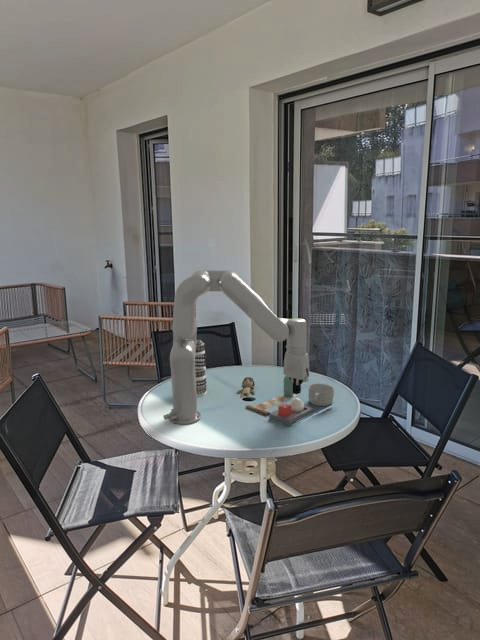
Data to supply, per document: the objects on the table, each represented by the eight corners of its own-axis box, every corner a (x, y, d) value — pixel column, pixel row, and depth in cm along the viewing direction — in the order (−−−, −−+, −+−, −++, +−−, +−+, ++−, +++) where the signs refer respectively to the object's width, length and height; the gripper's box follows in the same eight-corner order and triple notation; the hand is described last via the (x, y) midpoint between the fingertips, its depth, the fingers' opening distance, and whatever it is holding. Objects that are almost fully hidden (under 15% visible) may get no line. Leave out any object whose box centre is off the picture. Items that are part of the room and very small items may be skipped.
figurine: (235, 392, 211) (240, 374, 225) (236, 404, 214) (241, 386, 228) (253, 392, 210) (257, 375, 224) (253, 405, 213) (257, 387, 226)
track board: (267, 415, 195) (267, 413, 194) (245, 408, 203) (245, 405, 203) (304, 398, 212) (304, 396, 212) (283, 392, 220) (283, 390, 220)
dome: (297, 414, 191) (297, 402, 190) (286, 410, 195) (286, 398, 194) (306, 410, 195) (306, 397, 194) (295, 406, 199) (295, 394, 198)
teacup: (315, 398, 213) (315, 381, 211) (338, 403, 206) (338, 385, 205) (300, 408, 201) (300, 390, 200) (323, 414, 195) (324, 395, 194)
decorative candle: (203, 397, 216) (201, 344, 210) (184, 395, 219) (182, 342, 213) (210, 390, 224) (208, 339, 219) (192, 388, 227) (190, 337, 222)
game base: (289, 426, 184) (289, 411, 183) (269, 419, 191) (269, 404, 190) (313, 414, 196) (313, 399, 194) (294, 407, 202) (294, 393, 201)
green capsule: (289, 397, 210) (289, 377, 209) (281, 395, 214) (281, 375, 212) (295, 395, 214) (295, 375, 212) (288, 392, 217) (287, 373, 215)
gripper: (276, 348, 192) (276, 391, 196) (306, 355, 182) (306, 400, 186) (288, 344, 197) (288, 386, 201) (317, 350, 187) (317, 395, 191)
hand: (296, 393), depth 194 cm, fingers closed
